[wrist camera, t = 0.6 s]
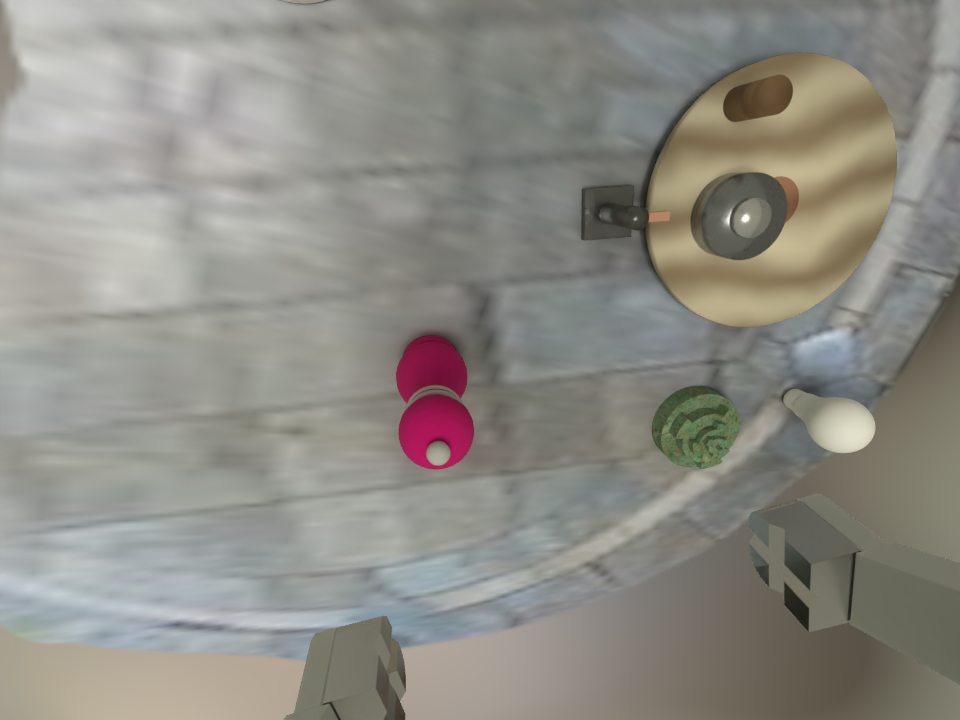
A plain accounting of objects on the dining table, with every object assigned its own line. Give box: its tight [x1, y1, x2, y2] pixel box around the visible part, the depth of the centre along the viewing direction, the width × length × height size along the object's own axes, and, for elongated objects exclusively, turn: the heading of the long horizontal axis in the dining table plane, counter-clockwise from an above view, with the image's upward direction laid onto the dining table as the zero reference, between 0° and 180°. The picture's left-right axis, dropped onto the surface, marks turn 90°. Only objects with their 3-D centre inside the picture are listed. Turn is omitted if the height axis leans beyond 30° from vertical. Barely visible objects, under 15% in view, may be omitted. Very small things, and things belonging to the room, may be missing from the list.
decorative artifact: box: [652, 386, 741, 469], centre depth 57 cm, size 10×7×10 cm
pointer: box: [581, 186, 670, 240], centre depth 46 cm, size 6×5×8 cm
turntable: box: [645, 53, 897, 327], centre depth 47 cm, size 26×26×6 cm
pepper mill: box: [396, 335, 474, 469], centre depth 44 cm, size 7×7×20 cm
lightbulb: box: [783, 389, 875, 453], centre depth 55 cm, size 6×6×11 cm
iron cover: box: [690, 172, 788, 260], centre depth 46 cm, size 8×8×4 cm
